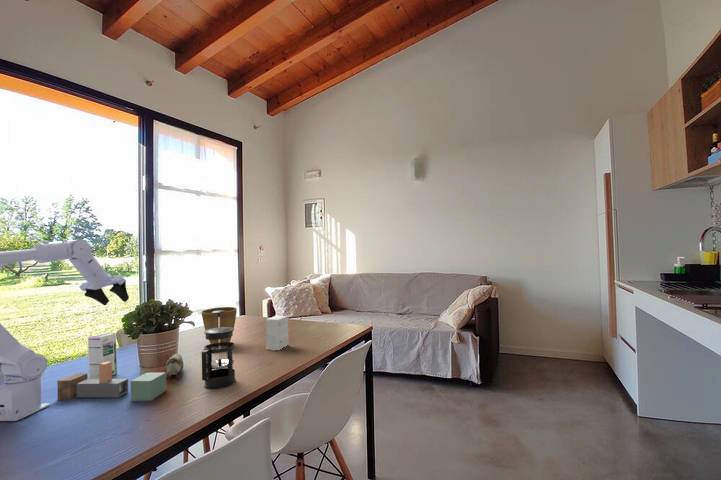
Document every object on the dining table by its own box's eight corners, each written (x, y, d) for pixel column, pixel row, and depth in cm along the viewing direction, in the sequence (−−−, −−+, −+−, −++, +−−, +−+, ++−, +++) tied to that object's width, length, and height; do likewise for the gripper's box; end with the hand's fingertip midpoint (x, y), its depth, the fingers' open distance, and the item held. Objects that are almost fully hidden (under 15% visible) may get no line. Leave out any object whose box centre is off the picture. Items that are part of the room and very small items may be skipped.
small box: (276, 345, 159) (275, 315, 159) (289, 345, 156) (288, 315, 157) (265, 350, 151) (265, 318, 151) (278, 351, 149) (277, 319, 149)
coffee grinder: (221, 376, 121) (220, 307, 121) (243, 379, 117) (242, 308, 118) (192, 388, 110) (191, 313, 110) (216, 392, 106) (214, 314, 107)
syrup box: (102, 379, 120) (102, 336, 121) (87, 379, 122) (87, 336, 122) (117, 373, 126) (116, 332, 126) (103, 373, 127) (102, 332, 128)
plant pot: (204, 343, 166) (203, 308, 166) (238, 339, 170) (237, 306, 171) (199, 351, 152) (199, 313, 152) (237, 347, 156) (236, 310, 156)
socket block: (130, 400, 102) (130, 381, 103) (147, 390, 109) (147, 372, 110) (150, 400, 102) (150, 380, 102) (166, 390, 109) (165, 372, 109)
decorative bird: (185, 366, 132) (185, 346, 132) (181, 381, 117) (181, 358, 117) (169, 369, 130) (169, 348, 130) (162, 384, 115) (162, 360, 115)
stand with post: (76, 397, 105) (76, 365, 106) (87, 392, 109) (87, 360, 110) (118, 397, 104) (117, 364, 105) (128, 392, 108) (127, 360, 109)
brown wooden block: (57, 399, 105) (57, 380, 105) (75, 391, 111) (75, 373, 111) (70, 399, 104) (70, 380, 105) (87, 391, 110) (87, 373, 111)
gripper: (119, 260, 118) (141, 290, 126) (80, 267, 120) (104, 296, 127) (107, 273, 113) (131, 304, 120) (65, 281, 114) (92, 311, 122)
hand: (116, 301), depth 123 cm, fingers open, 7 cm apart
